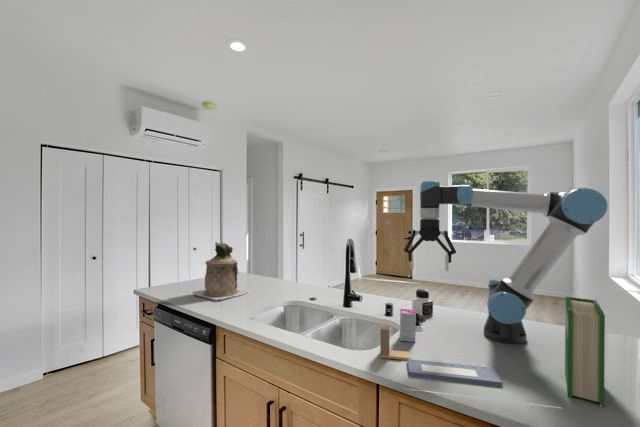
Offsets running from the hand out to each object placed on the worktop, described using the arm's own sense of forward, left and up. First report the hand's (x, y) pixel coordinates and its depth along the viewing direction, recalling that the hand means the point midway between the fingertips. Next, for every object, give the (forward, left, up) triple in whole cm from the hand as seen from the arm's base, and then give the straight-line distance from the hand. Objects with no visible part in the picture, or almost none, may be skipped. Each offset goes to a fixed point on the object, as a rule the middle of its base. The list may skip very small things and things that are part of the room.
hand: (429, 270), depth 131 cm
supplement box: (+9, +8, -27) cm, 29 cm away
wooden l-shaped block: (+14, +24, -26) cm, 38 cm away
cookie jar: (+116, -37, -27) cm, 125 cm away
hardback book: (-39, +32, -27) cm, 57 cm away
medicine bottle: (0, -27, -27) cm, 38 cm away
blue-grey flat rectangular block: (-3, +32, -27) cm, 42 cm away
